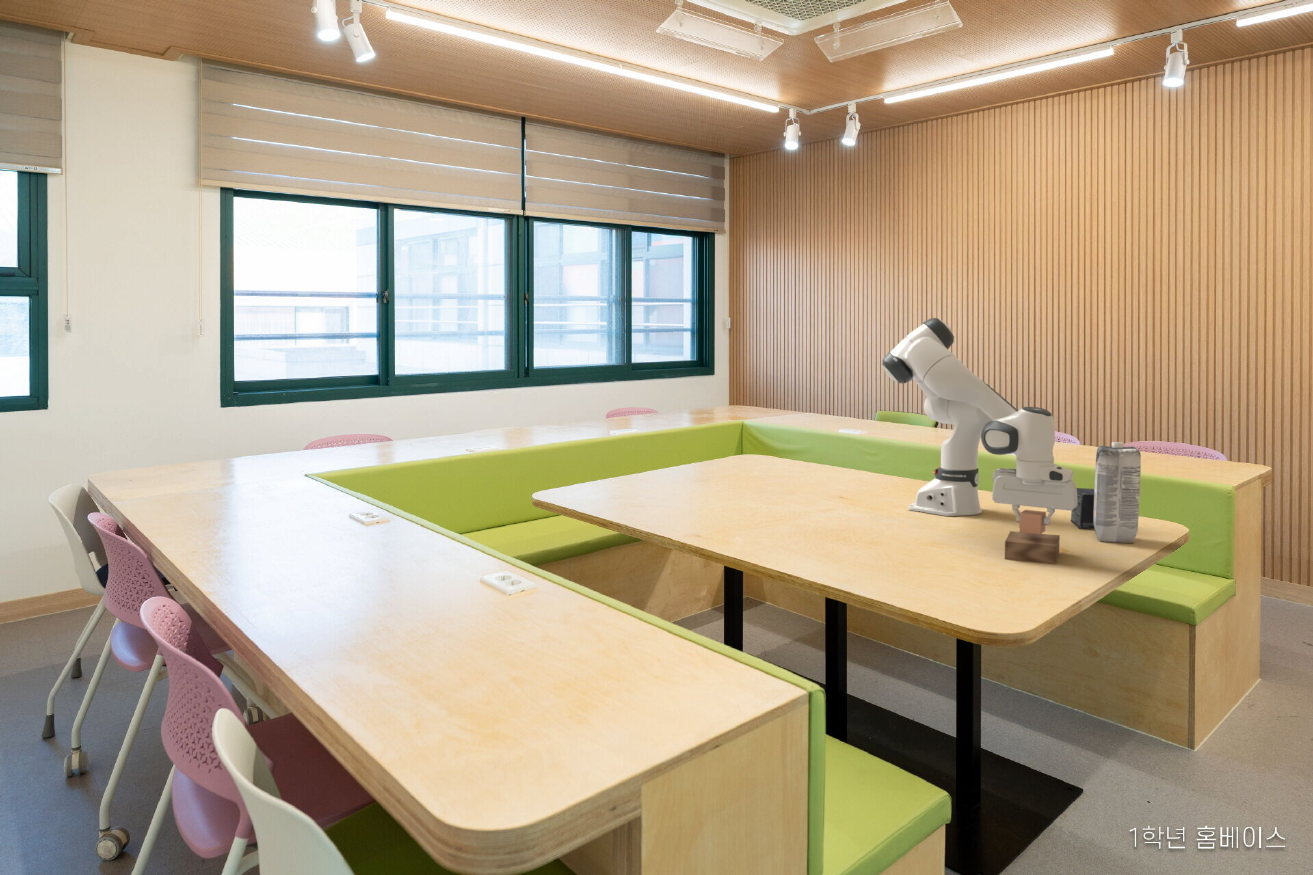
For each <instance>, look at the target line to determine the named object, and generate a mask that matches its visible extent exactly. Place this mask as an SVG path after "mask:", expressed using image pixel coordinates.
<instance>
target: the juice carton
mask: <svg viewBox="0 0 1313 875" xmlns="http://www.w3.org/2000/svg"><path fill="white" fill-rule="evenodd" d="M1095 456H1096V457H1095V458H1096V459H1095V470H1094V471H1095V473H1094V489H1095V491H1094V517H1093V522H1094V528H1095V529H1094V531H1095V535H1096V538H1097V539H1098V542H1103V541H1104V542H1106V543H1119V544H1120V543H1122V544H1133V543H1134V542H1135V540H1136V537H1137V533H1138V529H1139V517H1140V516H1139V514H1140V510H1139V509H1140V497H1141V496H1140V495H1141V494H1140V493H1141V492H1140V491H1141V475H1142V474H1141V471H1142V468H1141V467H1142V464H1141V463H1142V462H1141V452H1140V450H1139V449H1138V448H1137V447H1135V446H1124V442H1122V441H1121V442H1120V441H1117V442H1116V441H1112V442H1111V446H1108V445H1106V446H1105V445H1099V446H1098V447H1097V449H1096V454H1095Z"/></svg>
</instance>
